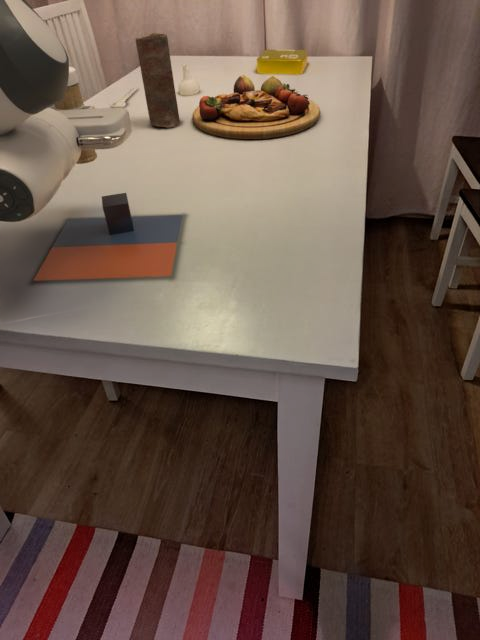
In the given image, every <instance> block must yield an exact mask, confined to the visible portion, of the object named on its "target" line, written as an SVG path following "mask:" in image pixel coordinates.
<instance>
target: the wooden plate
mask: <svg viewBox="0 0 480 640" xmlns="http://www.w3.org/2000/svg"><path fill="white" fill-rule="evenodd" d="M290 87H291V86H290V84H289V83H287V84H286V83H285V82H284V83H282V81H281V80H280V79H279V78H277V77H275V76H274V75H272V76H270V77H269V78H267V79H266V80H265V81H263V83H262V84H261V86H260V89H255V85H254V83H253V81H252V79H251V78H249V77H248V76H246V75H244V74H242V75H239V76H238V78H237V79H236V81H234V85H233V92H232V93H229V94H218V95H215V97H214V96H209V95H203V96H202V97H201V98H200V99H199V104H198V106H196V108H195V109H194V111H193V113H192V122H193V123H194V125H195V126H196V127H197V128H198V129H199V130H200V131H202V132H205V133H207V134H209V135H213V136H216V137H222V138H227V139H238V140H239V139H240V140H261V139H263V140H264V139H273V138H279V137H285V136H290V135H293V134H297V133H300V132H302V131H304V130H306V129H309V128H310V127H312V126H314V125H315V124H316V123H317V122H318V121H319V119H320V116H321V109H320V106H319V105H318V104H317V103H316V102H315V101H313V100H312V99H310V98H309V97H308V94H300V93H299V92H298V91H297V90H296V89H295V88H292V89H291V88H290Z"/></svg>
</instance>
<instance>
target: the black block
mask: <svg viewBox="0 0 480 640" xmlns="http://www.w3.org/2000/svg"><path fill="white" fill-rule="evenodd" d="M128 198H129V197H128V194H127V192H121V193H115V194H109V195H102V196H101V206H102V210H103V214H104V218H105V219H106V222H107V226H108V230H109V234H110V235H112V234H118V233H124V232H130V231H134V227H133V222H132V217H133V216H132V212H131V208H130V203H129V199H128Z"/></svg>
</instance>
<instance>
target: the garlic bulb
mask: <svg viewBox="0 0 480 640" xmlns="http://www.w3.org/2000/svg"><path fill="white" fill-rule="evenodd" d="M187 65H188V64H185V63H182V73H183V74H182V75H183V76H182V77H183V78H182V80H181V81H180V82H179V84H178V87H177V88H178V90H177V91H178V93H179V95H180V96H184V97H186V96H187V97H188V96H195V95H196V94H198V93H199V92H200V88H201V86H200V83H199V82H198V80H197V79H195V78H193V77H191V74H190V72H189V69H188V66H187Z"/></svg>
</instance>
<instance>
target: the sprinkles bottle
mask: <svg viewBox="0 0 480 640" xmlns="http://www.w3.org/2000/svg"><path fill="white" fill-rule="evenodd" d="M79 82H80V81H79V76H78V73H77V70H76V68H75V67H73V66H69V78H68V85H67V90H66V94H65V97H64V98H63V99H62V100H61V101H59V102H57V103H55V104H53V106H54V108H55V110H56V111H57V110H78V109H83V108H84V107H85V103H84V100H83V96H82V93H81V89H80V83H79ZM97 158H98V154H97V152H96V150H81V154H80V157H79V160H78V161H77V163H76V164H75V165H84V164H89V163H93V162H94V161H96V159H97Z"/></svg>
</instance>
